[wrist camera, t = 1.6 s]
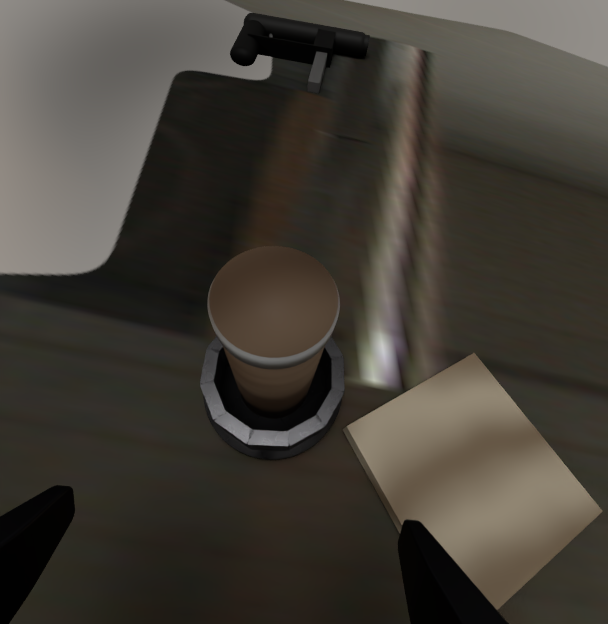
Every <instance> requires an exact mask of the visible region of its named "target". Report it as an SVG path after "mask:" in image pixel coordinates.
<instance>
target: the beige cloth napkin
mask: <svg viewBox="0 0 608 624" xmlns="http://www.w3.org/2000/svg"><path fill="white" fill-rule="evenodd" d="M343 432H344V434H345V435H346V437H347V439H348V441H349V443H350V445H351V446H352V448H353V450H354V452H355V454H356V455H357V457H358V459H359V461H360V463H361V464H362V466H363V468H364V470H365V472H366V474H367V475H368V477H369V479H370V481H371V483H372V484H373V486H374V488H375V490H376V492H377V494H378V495H379V497H380V499H381V501H382V503H383V504H384V506H385V508H386V510H387V512H388V514H389V515H390V517H391V519H392V521H393V523H394V524H395V526H396V528H397V530H398V532H399V533H400V532H401V528H402V525H403V522H404V520H405V519H410V520H418V521H420V522H421V523H422V524H423V525H424V526H425V527H426V528H427V529H428V531H429V532H430V533H431V534H432V535H433V536H434V538H435V539H436V540H437V541H438V542H439V543H440V545H441V546H442V547H443V548H444V549H445V550H446V551H447V553H448V554H449V555H450V556H451V557H452V558H453V560H454V561H455V562H456V563H457V564H458V565H459V567H460V568H461V569H462V570H463V571H464V572H465V574H466V575H467V576H468V577H469V578H470V579H471V581H472V582H473V583H474V584H475V585H476V586H477V587H478V589H479V590H480V591H481V592H482V593H483V594H484V596H485V597H486V598H487V599H488V600H489V601H490V603H491V604H492V605H493V606H494V607H495V608H496V610H498V609H499V608H500V607H501V606H502V605H503V604H504V603H505V602H506V601H507V600H508V599H510V598H511V597H512V596H513V595H514V594H515V593H516V592H517V591H518V590H519V589H520V588H521V587H522V586H523V585H524V584H526V583H527V582H528V581H529V580H530V579H531V578H532V577H533V576H534V575H535V574H536V573H537V572H538V571H539V570H540V569H542V568H543V567H544V566H545V565H546V564H547V563H548V562H549V561H550V560H551V559H552V558H553V557H554V556H555V555H556V554H558V553H559V552H560V551H561V550H562V549H563V548H564V547H565V546H566V545H567V544H568V543H569V542H570V541H571V540H572V539H574V538H575V537H576V536H577V535H578V534H579V533H580V532H581V531H582V530H583V529H584V528H585V527H586V526H587V525H588V524H590V523H591V522H592V521H593V520H594V519H595V518H596V517H597V516H598V515H599V514H600V513H601V512H602V510H601V509H600V507H599V506H598V505H597V504H596V502H595V501H594V500H593V499H592V498H591V496H590V495H589V494H588V493H587V491H586V490H585V489H584V488H583V486H582V485H581V484H580V483H579V482H578V480H577V479H576V478H575V477H574V475H573V474H572V473H571V472H570V470H569V469H568V468H567V467H566V465H565V464H564V463H563V462H562V461H561V459H560V458H559V457H558V456H557V454H556V453H555V452H554V451H553V449H552V448H551V447H550V446H549V444H548V443H547V442H546V441H545V440H544V438H543V437H542V436H541V435H540V433H539V432H538V431H537V430H536V428H535V427H534V426H533V425H532V424H531V422H530V421H529V420H528V419H527V417H526V416H525V415H524V414H523V412H522V411H521V410H520V409H519V407H518V406H517V405H516V404H515V403H514V401H513V400H512V399H511V398H510V396H509V395H508V394H507V393H506V391H505V390H504V389H503V388H502V387H501V385H500V384H499V383H498V382H497V380H496V379H495V378H494V377H493V375H492V374H491V373H490V372H489V370H488V369H487V368H486V367H485V366H484V364H483V363H482V362H481V361H480V359H479V358H478V357H477V356H476V354H475V353H473V354H471V355H470V356H468V357H466V358H465V359H463V360H461V361H459V362H458V363H456V364H454V365H452V366H451V367H449V368H447V369H445V370H444V371H442V372H440V373H438V374H437V375H435V376H433V377H431V378H430V379H428V380H426V381H425V382H423V383H421V384H419V385H418V386H416V387H414V388H412V389H411V390H409V391H407V392H405V393H404V394H402V395H400V396H398V397H397V398H395V399H393V400H391V401H390V402H388V403H386V404H385V405H383V406H381V407H379V408H378V409H376V410H374V411H372V412H371V413H369V414H367V415H365V416H364V417H362V418H360V419H358V420H357V421H355V422H353V423H352V424H350V425H348V426H346V427H345V428H344V429H343Z"/></svg>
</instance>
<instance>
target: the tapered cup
mask: <svg viewBox="0 0 608 624" xmlns="http://www.w3.org/2000/svg"><path fill="white" fill-rule="evenodd" d="M339 309H340V300H339V293H338V289H337V287H336V284H335V282H334V280H333V278H332V277H331V275H330V274H329V272H328V271H327V270H326V268H325V267H324V266H323V265H322V264H321V263H319V262H318V261H317V260H316V259H314V258H313V257H311V256H310V255H308V254H306V253H304V252H301V251H299V250H296V249H292V248H288V247H281V246H265V247H259V248H255V249H251V250H248V251H246V252H243V253H241V254H239V255H237V256H236V257H234V258H233V259H231V260H230V261H229V262H228V263H226V264H225V265H224V266H223V267H222V269H221V270H220V271H219V272H218V274H217V275H216V277H215V278H214V280H213V282H212V285H211V287H210V290H209V294H208V313H209V317H210V320H211V323H212V326H213V328H214V331H215V333H216V336H217V338H218V339H219V341H220V343H221V344H222V345H223V348H224V350H225V353H226V356H227V359H228V361H229V364H230V367H231V370H232V372H233V375H234V378H235V380H236V383H237V386H238V389H239V391H240V394H241V397H242V399H243V401H244V403H245V404H246V406H247V407H248V408H249V409H250V410H251V411H252V412H253V413H255V414H257V415H259V416H261V417H264V418H269V419H278V418H283V417H286V416H288V415H290V414H292V413H294V412H295V411H296V410H297V409H298V408H299V407H300V406H301V405H302V404H303V402H304V400H305V399H306V396H307V393H308V391H309V388H310V385H311V382H312V380H313V377H314V374H315V371H316V369H317V366H318V363H319V361H320V358H321V355H322V352H323V350H324V347H325V345H326V344H327V342H328V340H329V339H330V337H331V335H332V332H333V329H334V327H335V324H336V322H337V319H338V315H339Z"/></svg>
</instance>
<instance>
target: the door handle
mask: <svg viewBox="0 0 608 624" xmlns="http://www.w3.org/2000/svg"><path fill="white" fill-rule="evenodd" d="M369 37H370V35H365V34H364V33H363V32H358V31H352V30H347V29H341V28H335V27H330V26H324V25H319V24H313V23H307V22H302V21H296V20H290V19H285V18H279V17H273V16H268V15H262V14H256V13H249V14H248V15H247V16H246V17H245V19H244V26H243V27H242V30H241V31H240V33H239V35H238V37H237V39H236V41H235V43H234V45H233V47H232V49H231V51H230V55H231V58H232V60H233V61H234V62H235V63H237V64H239V65H241V66H250V65H252V64H253V63H254V61H255V59H256V57H257V55H258V54H259V55H265V56H271V57H276V58H282V59H287V60H293V61H299V62H304V63H310V64H312V65H313V66H312V69H311V73H310V76H309V80H308V89H307V91H309V92H314V93H319V90H320V87H321V83H322V79H323V75H324V71H325V67H329V68H330V64H331V60H332V56H333V52H334V53H340V54H345V55H351V56H356V57H359V56H362V55H363V56H366V52H367V48H368V43H369Z"/></svg>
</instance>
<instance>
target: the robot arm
mask: <svg viewBox="0 0 608 624" xmlns="http://www.w3.org/2000/svg"><path fill="white" fill-rule="evenodd" d="M74 513H75V505H74V494H73V489H72V488H71V487H70V486H60V485H56V486H53V487H51V488H49V489H47V490H46V491H44V492H42V493H40V494H39V495H37V496H35V497H33V498H32V499H30V500H28V501H26V502H25V503H23V504H21V505H19V506H18V507H16V508H14V509H13V510H11V511H9V512H7V513H6V514H4V515H2V516H0V624H9V623H10V621H11V620H12V618H13V617H14V615H15V614H16V613H17V611H18V610H19V608H20V607H21V605H22V604H23V602H24V601H25V599H26V598H27V596H28V595H29V593H30V592H31V590H32V589H33V587H34V585H35V584H36V582H37V580H38V579H39V577H40V575H41V574H42V572H43V570H44V568H45V567H46V565H47V563H48V561H49V560H50V558H51V556H52V554H53V553H54V551H55V549H56V547H57V546H58V544H59V542H60V541H61V539H62V537H63V535H64V534H65V532H66V530H67V528H68V527H69V525H70V523H71V521H72V519H73V517H74ZM398 553H399V559H400V565H401V571H402V577H403V583H404V589H405V594H406V600H407V606H408V612H409V617H410V622H411V624H509V623H508V622H507V621H506V620H505V619H504V618H503V616H502V615H501V614H500V613H499V612H498V611H497V610H496V608H495V607H494V606H493V605H492V604H491V603H490V601H489V600H488V599H487V598H486V597H485V596H484V594H483V593H482V592H481V591H480V590H479V589H478V587H477V586H476V585H475V584H474V583H473V582H472V581H471V579H470V578H469V577H468V576H467V575H466V574H465V572H464V571H463V570H462V569H461V568H460V567H459V565H458V564H457V563H456V562H455V561H454V560H453V558H452V557H451V556H450V555H449V554H448V553H447V551H446V550H445V549H444V548H443V547H442V546H441V545H440V543H439V542H438V541H437V540H436V539H435V538H434V536H433V535H432V534H431V533H430V532H429V531H428V529H427V528H426V527H425V526H424V525H423V524H422V523H421V522H420V521H418V520H410V519H405V520H404V522H403V525H402V528H401V532H400V536H399V540H398Z"/></svg>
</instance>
